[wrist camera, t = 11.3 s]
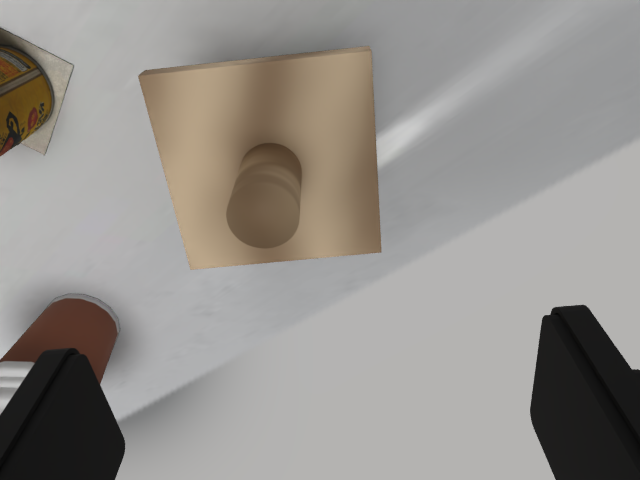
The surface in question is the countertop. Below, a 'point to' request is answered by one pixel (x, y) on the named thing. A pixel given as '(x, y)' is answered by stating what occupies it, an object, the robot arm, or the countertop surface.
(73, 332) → the coffee cup
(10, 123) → the condiment
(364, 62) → the lid
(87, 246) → the countertop surface
